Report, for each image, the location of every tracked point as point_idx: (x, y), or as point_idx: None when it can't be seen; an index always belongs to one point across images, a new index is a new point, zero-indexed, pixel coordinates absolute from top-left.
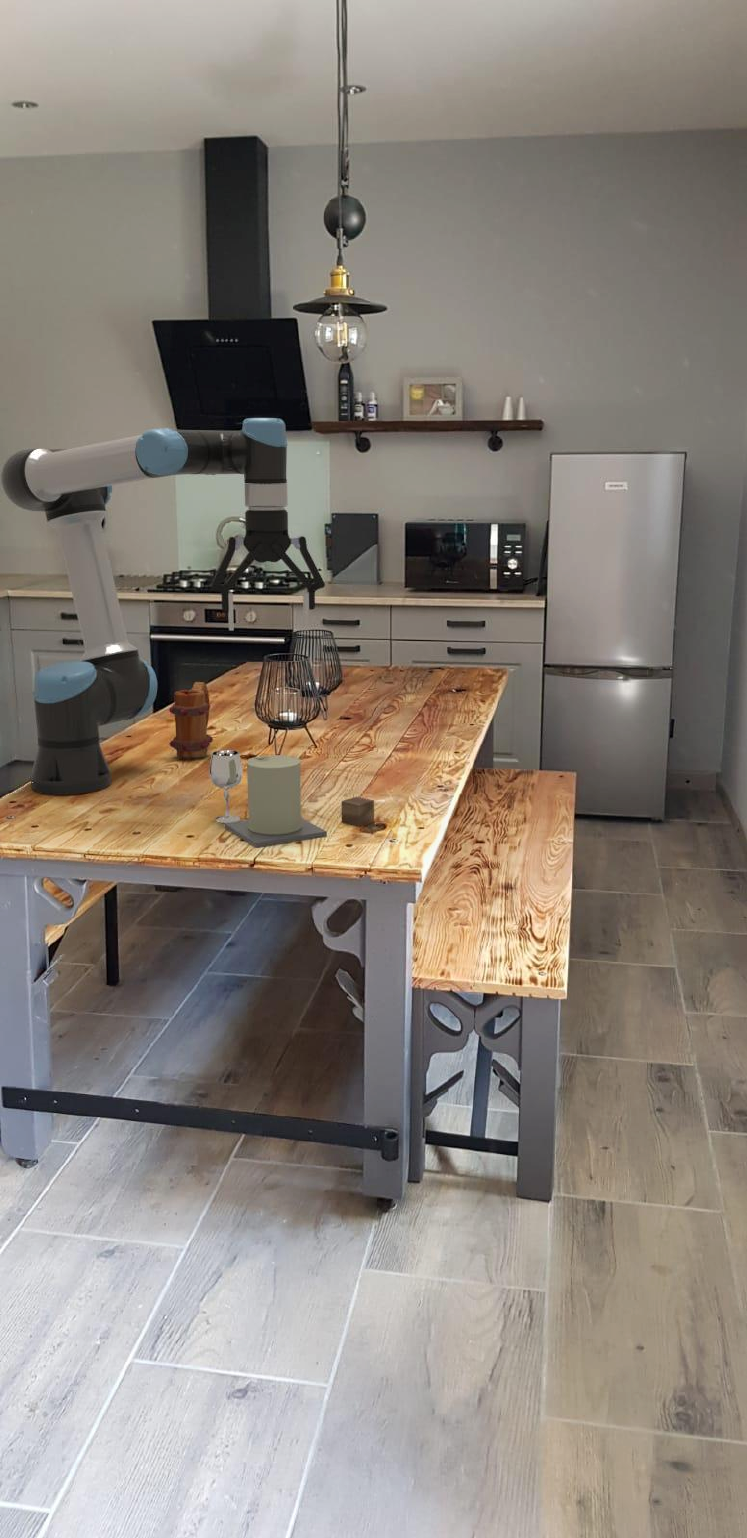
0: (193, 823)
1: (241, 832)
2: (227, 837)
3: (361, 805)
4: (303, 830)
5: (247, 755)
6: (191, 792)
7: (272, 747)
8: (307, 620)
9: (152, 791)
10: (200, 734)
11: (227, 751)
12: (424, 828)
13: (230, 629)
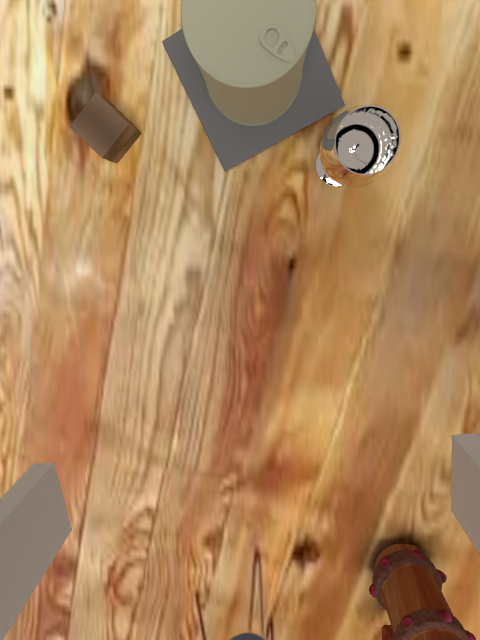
0: None
1: (313, 39)
2: (337, 42)
3: (91, 98)
4: None
5: (306, 560)
6: (400, 343)
7: (266, 601)
8: (14, 492)
9: (468, 355)
10: (395, 581)
11: (361, 174)
12: (3, 89)
13: (475, 435)
